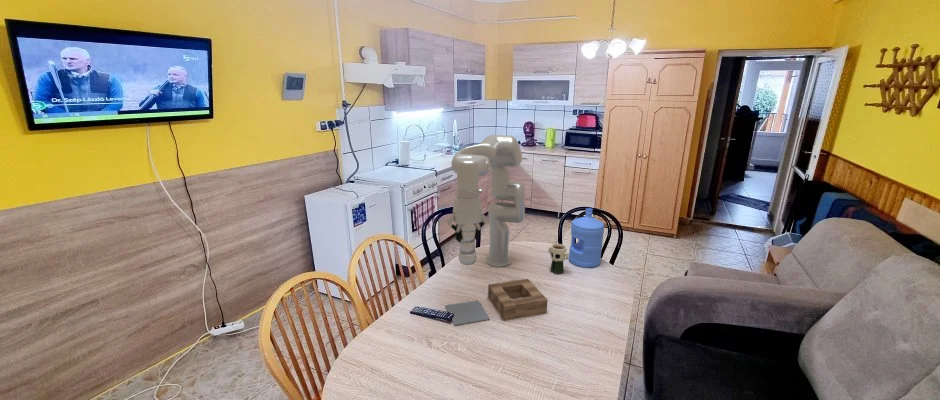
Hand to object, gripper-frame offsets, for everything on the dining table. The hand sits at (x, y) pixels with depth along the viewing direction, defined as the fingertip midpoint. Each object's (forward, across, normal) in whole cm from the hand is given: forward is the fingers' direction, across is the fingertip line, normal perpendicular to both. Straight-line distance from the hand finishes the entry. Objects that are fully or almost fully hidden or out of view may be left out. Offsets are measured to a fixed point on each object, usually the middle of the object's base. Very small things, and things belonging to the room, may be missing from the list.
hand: (467, 239), depth 148 cm
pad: (+31, 0, 0) cm, 31 cm away
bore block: (+31, -21, 0) cm, 37 cm away
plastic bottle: (+10, 0, 0) cm, 10 cm away
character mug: (+31, -52, -22) cm, 64 cm away
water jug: (+31, -71, -28) cm, 82 cm away
